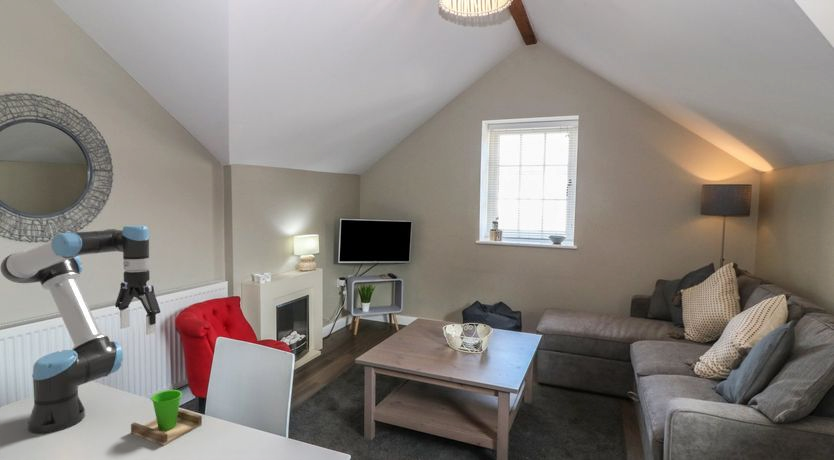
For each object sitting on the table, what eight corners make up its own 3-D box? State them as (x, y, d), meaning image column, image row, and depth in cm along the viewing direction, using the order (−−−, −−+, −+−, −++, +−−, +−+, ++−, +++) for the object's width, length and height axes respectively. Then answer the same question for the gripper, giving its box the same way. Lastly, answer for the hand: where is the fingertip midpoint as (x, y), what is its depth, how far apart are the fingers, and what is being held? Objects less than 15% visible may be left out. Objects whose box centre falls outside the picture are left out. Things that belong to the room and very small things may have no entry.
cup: (168, 435, 142) (167, 403, 142) (145, 431, 144) (144, 399, 144) (188, 422, 151) (188, 391, 150) (166, 418, 153) (166, 388, 152)
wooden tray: (131, 433, 145) (130, 424, 144) (169, 414, 158) (169, 405, 157) (164, 445, 138) (163, 435, 138) (201, 425, 151) (201, 416, 151)
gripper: (102, 268, 152) (103, 328, 154) (150, 275, 142) (151, 339, 144) (124, 265, 159) (125, 322, 160) (171, 272, 149) (172, 333, 150)
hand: (137, 330), depth 152 cm, fingers open, 13 cm apart
